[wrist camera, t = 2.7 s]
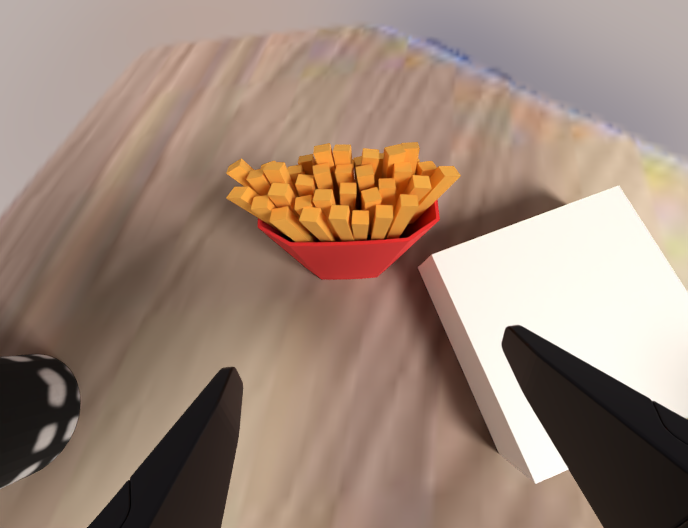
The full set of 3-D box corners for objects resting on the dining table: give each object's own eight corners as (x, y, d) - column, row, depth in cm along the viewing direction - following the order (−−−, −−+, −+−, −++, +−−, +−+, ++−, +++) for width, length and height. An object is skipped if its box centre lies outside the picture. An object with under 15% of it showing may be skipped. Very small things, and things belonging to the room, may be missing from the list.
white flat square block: (499, 453, 20) (535, 483, 16) (417, 267, 23) (431, 254, 19) (675, 379, 21) (750, 390, 17) (574, 209, 24) (619, 185, 20)
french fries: (400, 226, 24) (458, 109, 11) (404, 278, 23) (473, 214, 10) (288, 231, 24) (219, 120, 11) (287, 283, 23) (212, 224, 10)
